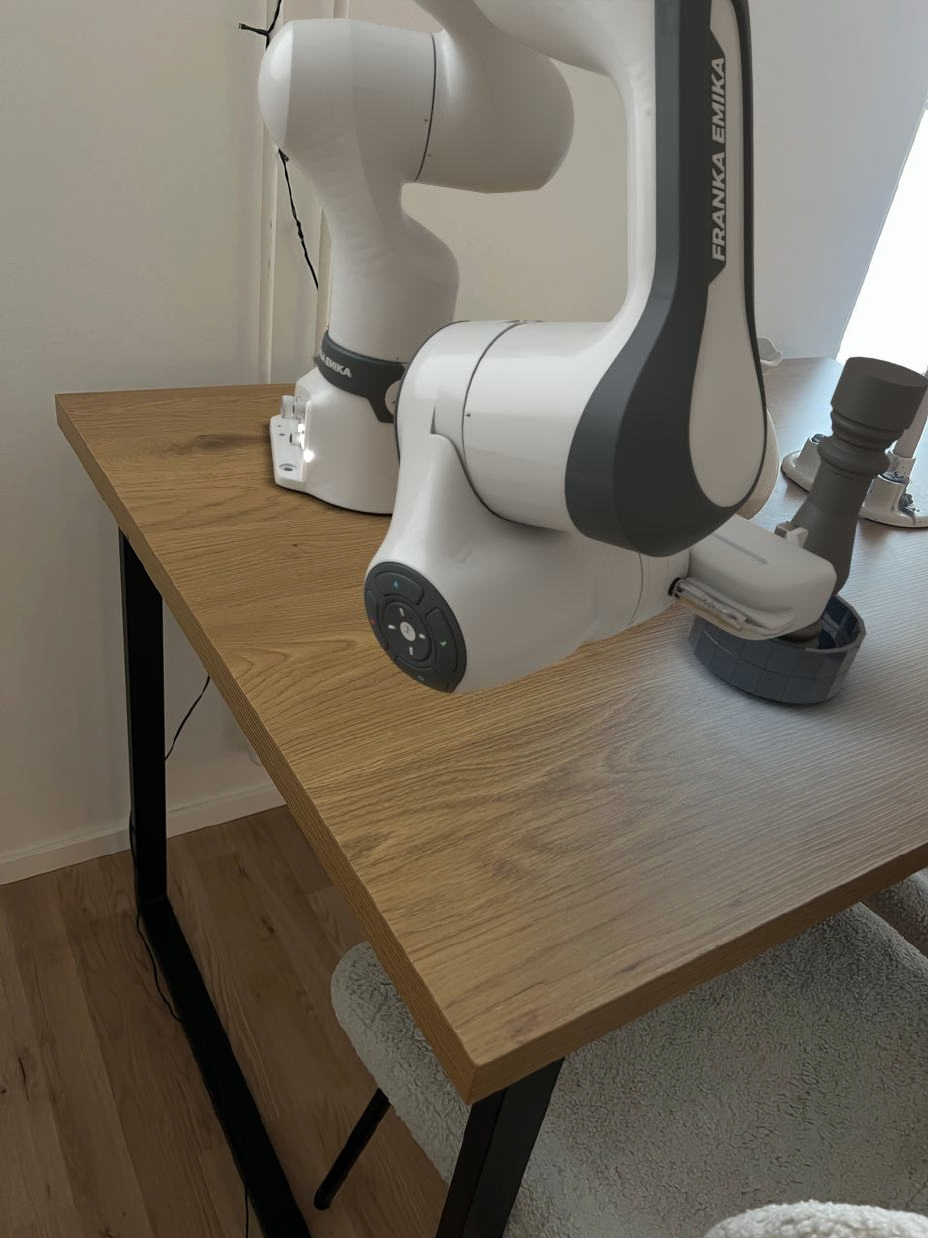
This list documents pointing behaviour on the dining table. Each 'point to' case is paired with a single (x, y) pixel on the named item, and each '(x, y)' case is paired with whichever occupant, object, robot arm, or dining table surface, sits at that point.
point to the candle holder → (853, 463)
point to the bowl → (784, 657)
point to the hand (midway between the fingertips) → (734, 504)
